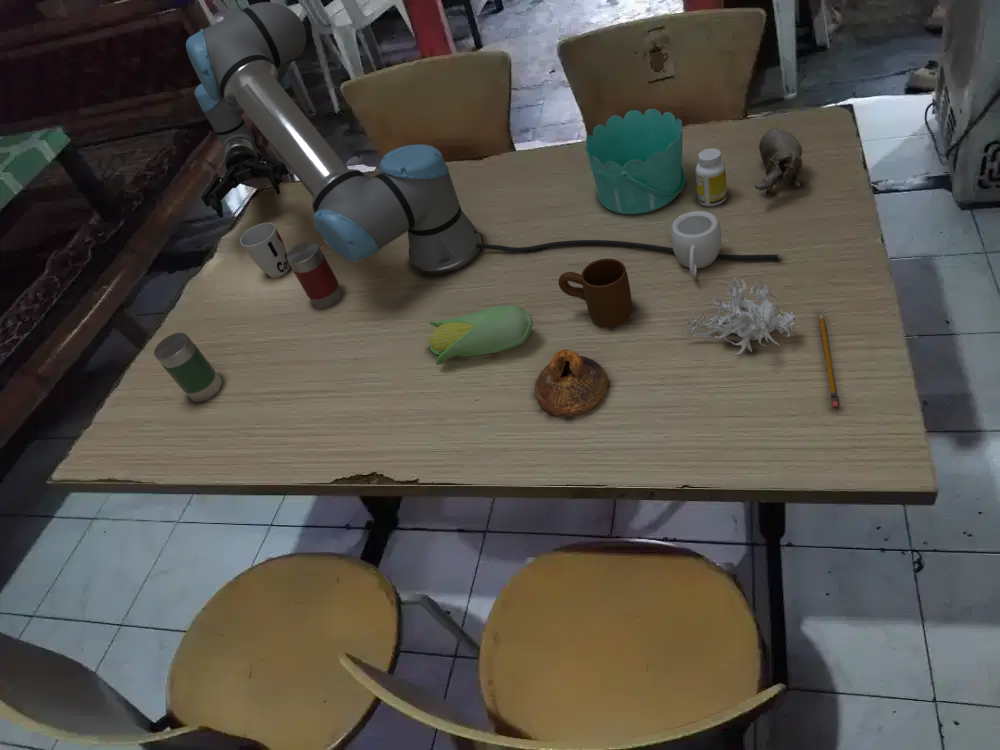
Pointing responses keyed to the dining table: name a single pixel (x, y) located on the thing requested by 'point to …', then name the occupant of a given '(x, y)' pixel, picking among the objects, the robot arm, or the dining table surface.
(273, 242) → the cup
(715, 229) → the mug
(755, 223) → the dining table surface
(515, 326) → the corn
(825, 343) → the pencil
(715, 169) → the supplement bottle
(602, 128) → the bucket
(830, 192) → the dining table surface
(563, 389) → the bell
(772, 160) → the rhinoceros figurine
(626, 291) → the mug
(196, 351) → the green can
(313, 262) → the maroon can
